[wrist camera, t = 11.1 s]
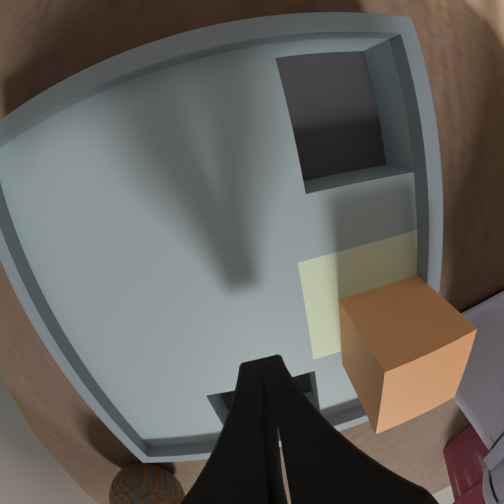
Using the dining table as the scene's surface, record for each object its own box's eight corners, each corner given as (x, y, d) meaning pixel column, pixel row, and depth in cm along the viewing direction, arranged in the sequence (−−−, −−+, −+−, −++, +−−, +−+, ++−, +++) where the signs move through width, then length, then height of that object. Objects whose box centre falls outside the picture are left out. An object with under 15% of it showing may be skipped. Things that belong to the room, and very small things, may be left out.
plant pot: (419, 455, 26) (455, 527, 14) (504, 386, 24) (552, 448, 12) (435, 469, 31) (462, 522, 19) (501, 417, 29) (535, 465, 17)
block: (416, 274, 12) (477, 328, 8) (410, 339, 14) (454, 396, 9) (338, 299, 12) (384, 372, 8) (342, 364, 14) (375, 434, 9)
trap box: (371, 37, 10) (411, 17, 7) (396, 366, 18) (418, 399, 15) (10, 139, 10) (-33, 146, 7) (148, 424, 18) (142, 462, 15)
